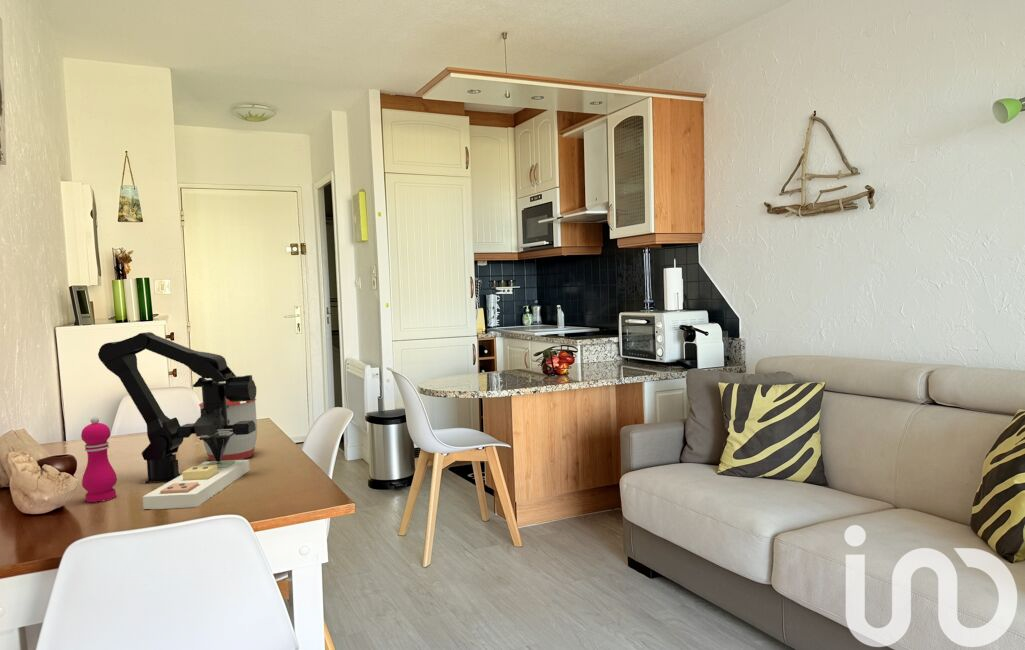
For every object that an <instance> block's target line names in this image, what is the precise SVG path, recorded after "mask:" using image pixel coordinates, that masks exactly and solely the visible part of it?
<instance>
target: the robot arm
mask: <svg viewBox="0 0 1025 650" xmlns="http://www.w3.org/2000/svg"><path fill="white" fill-rule="evenodd" d="M145 350H147V351H150V352H152V353H154V354H157V355H160V356H162V357H164V358H167V359H170V360H172V361H175V362H177V363H180V364H183V365H185V366H186V367H188V369H189V370H191V372H193V373H195V374H196V375H198V376H199V378H198V379H197V380H196V381H195V383H193V385H192V387H193V388H201V396H202V403H203V408H202V409H201V413H200V416H199V417H198V418H197V419H196V421H195V422H194V423H192V422H191V423H186V424H183V425H180V421H179V420H178V419H177V417H173V418H169V417H168V416H167V415H165V413H164V411H163V410H162V408H161V406H160V405H159V403H158V401H157V400H156V398H155V396H154V394H153V393H152V391H151V390H150V388H149V386H148V384H147V383H146V381H145V379H144V377H143V375H142V374H141V373H140V370H139V367H138V357H137V355H136V354H139V353H141V352H143V351H145ZM97 356H98V359H99V360H100V362H101V363H102V364H103V365H104V367H105V368H106V369H107V370H108V371H110V372H111V373H112V374H114V375H115V376H116V377H118V378H119V379H120V381H121V383H122V385H123V386H124V388H125V391H126V392H127V394H128V395H129V396H130V399H131V401H132V402H133V404H134V405H135V407H136V409H137V411H138V412H139V413H140V416H141V417H142V419H143V420H144V422H145V424H146V436H147V438H148V441H149V444H148V445H147V446H146V448H145V449H143V451H142V452H141V456H142V458H143V460H144V461H146V469H147V479H145V481H144V483H161V482H162V483H168V482H170V481H171V480H173V479H175V478H177V477H179V476H180V475H181V473H180V471H179V467H180V466H179V460H178V459H177V455H176V453H178V452H179V451H178V450H179V448H180V446H181V445H182V444H183V442H184V439H186V438H187V439H188V438H189V437H190V436H191V435H192V434H193V435H194V434H195V436H196V437H199V438H198V439H199V441H202V442H203V441H205V442H206V443H207V444H208V446H209V447H210V449H211V451H212V453H213V455H214V457H215V459H216V461H217V462H220V461H221V459H222V456H223V454H224V451H225V447H226V445H227V443H228V441H229V439H230V437H231V436H233V435H234V434H235V435H246V434H250V433H251V432H253V431H255V430H256V427H255V423H254V422H253V420H250V421H239V422H237V423H235V424H234V425H228V424H229V423H230V420H228V418H227V409H228V408H229V406H228V404H226V399H229V400H230V402H240V403H241V402H246V401H254V400H255V399H256V397H257V386H256V383H255V381H254V379H253V375H252V374H250V375H249V374H247V375H243V376H242V375H239V376H237V374H235V373H234V371H233V370H232V369H231V368H230V367H229V366H228V363H227V361H226V358H225V357H224V356H222V355H220V354H218V353H217V354H216V353H211V352H205V351H200V350H199V351H198V350H194V349H191V348H190V347H186V346H185V345H182V344H179V343H176V342H173V341H171V340H168V339H167V338H164V337H161V336H158V335H156V334H155V333H153V332H151V331H147V332H140V333H137V334H136V335H134V336H131V337H129V338H125V339H123V340H120V341H113V342H112V341H111V342H106V343H104V344H102V345H101V346H100V348H99V351H98V353H97ZM255 401H256V400H255ZM217 432H219V433H217Z"/></svg>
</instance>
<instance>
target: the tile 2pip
mask: <svg viewBox="0 0 1025 650" xmlns="http://www.w3.org/2000/svg"><path fill="white" fill-rule="evenodd" d="M182 474H183V481H188V480H207V479H210V478H212V477H213V476H215V475H216V474H218V468H217V465H204V466H198V465H193V466H190V467H189V468H187V469H186V470H184V471H182V473H181V475H182Z"/></svg>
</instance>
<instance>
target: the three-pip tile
mask: <svg viewBox="0 0 1025 650" xmlns="http://www.w3.org/2000/svg"><path fill="white" fill-rule="evenodd" d="M197 486H199V485H198V482H191V483H173V484H171V485H169V486H168V487H166V488H164V489H162V490H161V491H160V493H161V494H170V493H188V492H189V491H191V490H193V489H194V488H196V487H197Z"/></svg>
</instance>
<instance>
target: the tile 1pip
mask: <svg viewBox="0 0 1025 650" xmlns="http://www.w3.org/2000/svg"><path fill="white" fill-rule="evenodd" d="M209 462H210V461H209ZM234 463H235V460H227V461H220V462H217V461H212V462H210V463H208V464H207V465H217V468H227V467H229V466H230V465H232V464H234Z"/></svg>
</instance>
